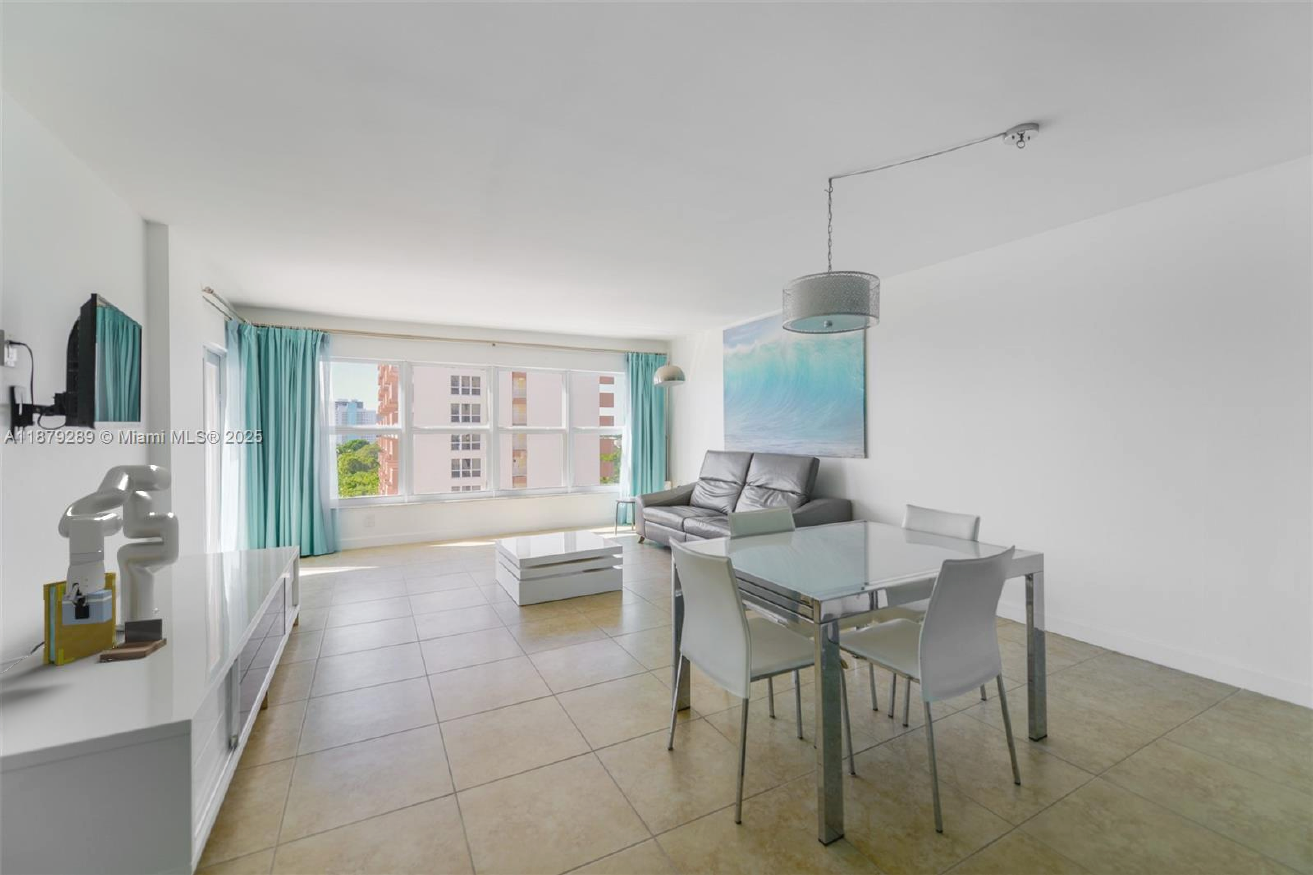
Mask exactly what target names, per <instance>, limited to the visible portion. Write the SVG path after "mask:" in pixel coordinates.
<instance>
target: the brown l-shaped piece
mask: <svg viewBox="0 0 1313 875" xmlns="http://www.w3.org/2000/svg"><path fill="white" fill-rule="evenodd" d="M165 645H167V637H163V618H159V619H150V620H138V621H126V622H125V631H124V641H123V642H120V643H119V644H116V646H115V647H114V648H111V649H108V650H105V651H103V652H102V653H101V654H99V661H100V662H103V661H102V660H107V661H110V660H109V659H118V660H126V658H128V659H136V657H137V659H139V658H146V656H147V655H148V656H150V655H151V654H153V653H155V652H157V651H158V650H159V649H161V648H162V647H164V646H165ZM148 656H147V657H148ZM138 657H139V658H138Z"/></svg>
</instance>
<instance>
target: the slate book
mask: <svg viewBox="0 0 1313 875" xmlns="http://www.w3.org/2000/svg"><path fill="white" fill-rule="evenodd" d="M79 596H82V594H79ZM79 599H82V600H83V598H79ZM87 605H89V618H87V619H75V607H74V604H73V603H72V602H70V601H69V597H66V595H64V596H62V623H63V625H75V624H89V623H102V622H105V621H107V620H109V619H111V618H112V590H100V591H97V592H94V593H92V594H90V595H88V604H87Z"/></svg>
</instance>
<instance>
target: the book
mask: <svg viewBox="0 0 1313 875" xmlns="http://www.w3.org/2000/svg"><path fill="white" fill-rule="evenodd" d="M42 588H43V589H42V590H43V592H42V593H43V594H42V596H43V598H42V600H43V602H44V604H43V606H44V611H43V612H44V613H43V614H44V615H43V616H44V619H43V621H44V623H43V624H44V628H43V630H44V631H43V632H44V637H43V638H44V643H43V645H44V647H43V650H42V651H43V654H42V655H43V656H42V657H43V659H42V660H43V661H42V663H43V664H44V665H50V664H53V663H54V665H55V666H61V665H62V666H63V665H66V664H68V663H72V662H74V661H76V660H80V659H84V658H86V657H90V656H91V655H94V654H98V653H101V651H102V652H104V651H103V650H105V651H108V650H110V648H111V649H112V648H113V647H115V646H117V630H116V625H117V614H116V613H117V573H116V572H105V588H104V589H103V590H112V618H111V619H109V620H107V621H105V622H102V623H89V624H75V625H63V623H62V596H64V595H66V580H61V581H56V582H51V583H49V582H48V583H44V584H43V585H42Z"/></svg>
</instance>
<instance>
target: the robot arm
mask: <svg viewBox="0 0 1313 875" xmlns="http://www.w3.org/2000/svg"><path fill="white" fill-rule="evenodd" d="M171 475H172V474H171V473H170V471H169V470H168V469H166V468H164V467H162V466H158V465H153V464H125V465H115V466H113V467H111V468H110V469H109V470H108V471H107V472H106V474H105V476H104V478H103V479H102V481H101V483H100V485H99V487H98V488H97V490H96V491H94V492H92V493H89V494H88V495H85V496H83V497H81V498H79V499H78V500H76V501H74V502H73V503H71V504H70V505H69V506H68V507H67V508H66V509H65V511H64V513H62V514H63V515H62V516H61V518H60V519H59V522H58V526H57V531H58V533H59V535H60V536H61V537H62V538H64V539H68V543H69V546H68V549H69V550H68V552H69V553H68V555H69V556H68V558H69V565H68V568H67V573H66V580H65V581H66V597H69V601H70V602H72V603H73V604H74V607H75V619H87V618H89V605H87V604H88V595H90V594H92V593H94V592H97V591H100V590H103V589H104V588H105V573H106V568H105V564H104V563H105V537H111V536H114V535H116V534H118V533H119V532H120V531H122V532H123V533H122V534H123V536H124V537H125V538H126V539H129V540H130V539H131V540H139V539H157V538H160V539H161V540H155V541H152V540H151V541H141V542H139V541H138V542H130V543H126V544H124V545H122V546H121V547H119V548H118V550H117V553H116V561H117V564H118V569H119V570H118V571H119V576H120V577H119V580H120V581H119V584H120V585H119V586H120V589H119V590H120V597H119V598H120V602H119V603H120V605H119V608H120V609H119V610H120V614H119V616H120V617H119V618H120V621H119V623H116V632H117V631H119V632H125V622H126V621H138V620H150V619H160V617H156V616H155V614H157V613H159V610H160V609H159V608H157V607H155V605H156V604H155V603H156V602H155V600H156V599H155V597H156V596H155V594H156V593H155V591H156V590H155V588H156V587H155V586H156V585H155V584H156V582H155V576H154V574H153V572H152V571H150V570H149V569H148V568H150V567H151V568H152V567H163V566H169V565H170V566H171V565H173V564H175V563H176V562H177V561H178V558H179V552H180V542H179V541H180V539H179V538H180V537H179V536H180V534H179V533H180V532H179V531H180V525H179V518H178V516H177V515H176V514H175V513H173V512H154V499H153V498H152V496H151V495H150V494H149V493H148V492H163V491H166V490H168V489H169V488H170V486H171V484H172V476H171ZM120 507H122V517H121V515H120V514H117V513H114V512H113V513H112V512H108V511H110V510H114V509H117V508H120ZM79 594H82V596H79ZM79 598H83V600H82V599H79Z"/></svg>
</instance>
